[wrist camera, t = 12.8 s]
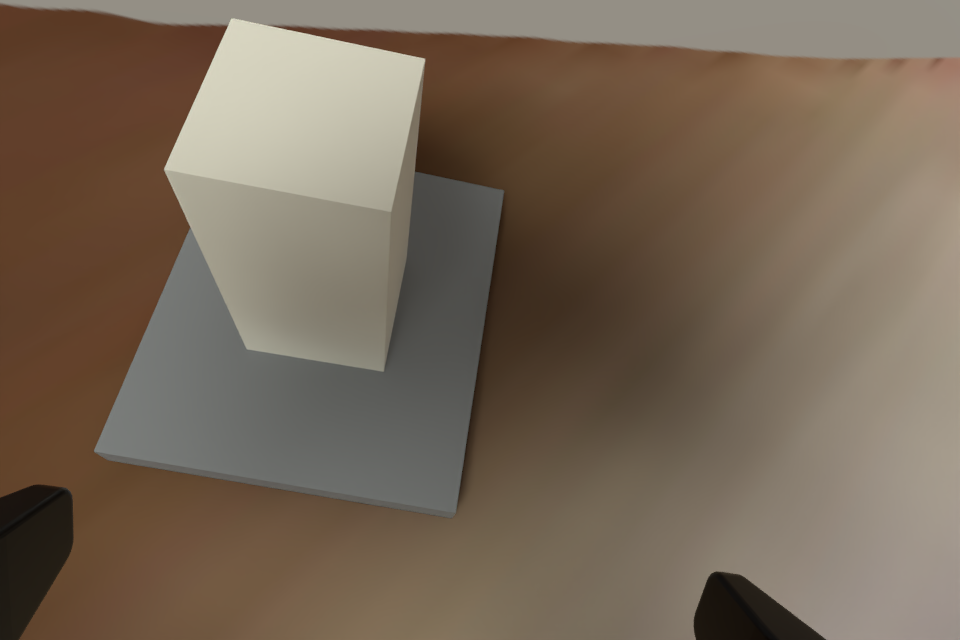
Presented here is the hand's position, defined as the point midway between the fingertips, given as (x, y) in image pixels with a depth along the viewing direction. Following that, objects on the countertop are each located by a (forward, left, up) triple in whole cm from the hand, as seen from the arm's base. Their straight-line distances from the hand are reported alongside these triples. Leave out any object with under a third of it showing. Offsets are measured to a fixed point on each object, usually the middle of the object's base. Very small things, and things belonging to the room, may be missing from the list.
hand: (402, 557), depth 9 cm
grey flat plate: (+4, -10, -13) cm, 17 cm away
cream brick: (+4, -10, -12) cm, 16 cm away
